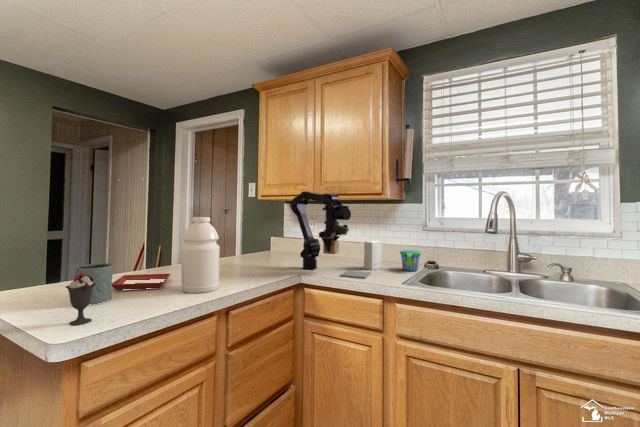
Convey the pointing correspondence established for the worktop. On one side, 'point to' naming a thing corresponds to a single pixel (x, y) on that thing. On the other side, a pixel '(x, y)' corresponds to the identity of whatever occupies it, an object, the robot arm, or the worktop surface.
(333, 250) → the walnut cube
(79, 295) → the sundae
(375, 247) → the skincare box
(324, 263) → the worktop surface
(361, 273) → the slate mat
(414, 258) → the snack cup
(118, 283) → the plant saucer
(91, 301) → the blue-grey pot
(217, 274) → the bottle
